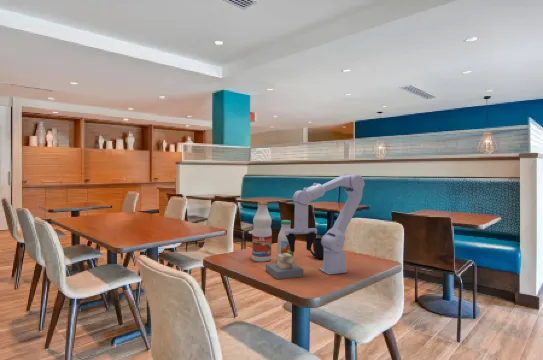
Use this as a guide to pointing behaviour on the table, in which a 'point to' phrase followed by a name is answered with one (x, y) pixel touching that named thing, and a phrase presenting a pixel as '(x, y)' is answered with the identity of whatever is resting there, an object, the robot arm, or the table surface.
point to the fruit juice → (262, 234)
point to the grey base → (284, 271)
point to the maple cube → (284, 260)
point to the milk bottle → (284, 239)
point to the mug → (318, 249)
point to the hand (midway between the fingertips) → (300, 251)
